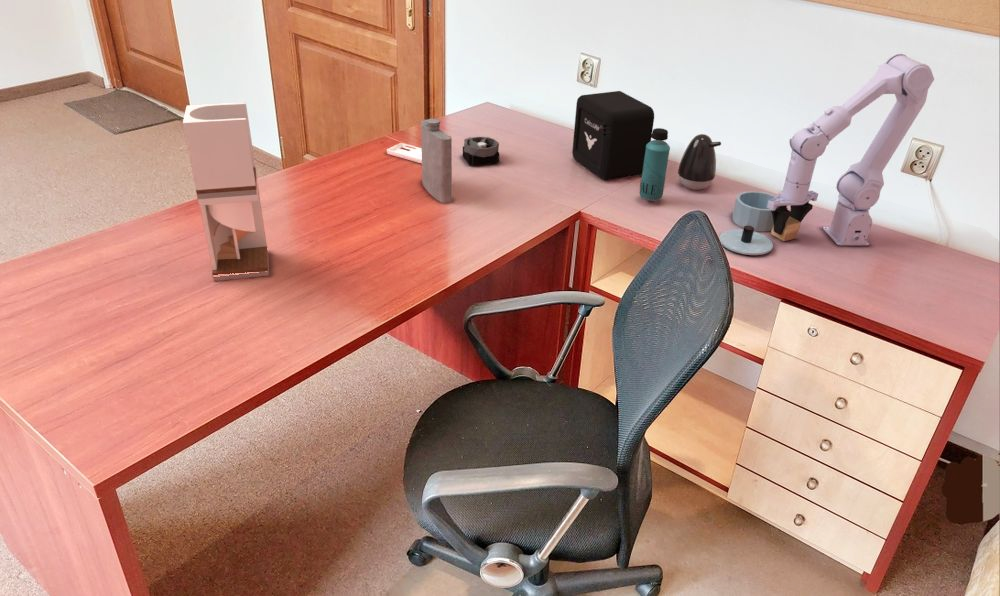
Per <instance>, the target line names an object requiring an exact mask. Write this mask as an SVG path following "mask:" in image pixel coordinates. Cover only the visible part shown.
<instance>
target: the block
mask: <svg viewBox="0 0 1000 596" xmlns="http://www.w3.org/2000/svg"><path fill="white" fill-rule="evenodd" d="M801 225H802V222H799V221H798V220H796V219H794V218H792V217H789V218H788V220H787V222H786V225H785V228H784V230H783V232H782V234H781V235H779V234H777V233H776V232H774V223H773V227H772V231H770V235H772V236H774V237H775V238H777V239H778V240H780V241H782V242H787V241H791V240H794V239H795V240H796V239H798V234H799V231H800V228H801Z"/></svg>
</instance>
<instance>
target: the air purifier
mask: <svg viewBox="0 0 1000 596" xmlns="http://www.w3.org/2000/svg"><path fill="white" fill-rule="evenodd" d="M574 119H575V120H574V130H573V139H572V149H571V150H572V151H571V153H572V157H573V160H574V161H576V162H577V163H578V164H580V165H581V166H582V167H584V168H585V169H587V170H588V171H590V172H591V173H592V174H594V175H596V177H598V178H600V179H601V180H603V181H605V182H608V181H613V180H619V179H626V178H631V177H637V176H642V172H643V164H644V163H643V161H644V158H645V152H646V145H647V144H648V143H649V142H650V141H652V137H651V136H652V132H653V129H654V123H655V111H654V109H653V108H652V106H649V105H647V104H646V103H644V102H642V101H640V100H639V99H637V98H634V97H633V96H631V95H629V94H627V93H625V92H623V91H621V90H615V91H614V90H613V91H605V92H598V93H589V94H581V95H580V96H579V97H578V98H577V100H576V106H575V117H574Z"/></svg>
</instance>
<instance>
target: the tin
mask: <svg viewBox="0 0 1000 596" xmlns="http://www.w3.org/2000/svg"><path fill="white" fill-rule="evenodd" d="M777 196H778V195H774V194H772V193H769V192H763V191H757V190H755V191H754V190H749V191H742V192H739V193H737V195H736V197H735V202H734V207H733V211H732V217H731V218H732V221H733V222H734V223H735V224H736V225H737V226H738V227H740V228H742V229H744V226H752V227H754V232H771V231H772V227H773V223H774V222H773V216H772V212H771V210H770V209H768V208H767V205H768V201H769V200H772V199H774V198H775V197H777Z"/></svg>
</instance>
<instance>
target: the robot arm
mask: <svg viewBox="0 0 1000 596" xmlns="http://www.w3.org/2000/svg"><path fill="white" fill-rule="evenodd" d="M934 81H935V76H934V75H933V71H932V69H931V67H930V66H929V65H928V64H926V63H921V62H920V61H917V60H915V59H914V58H912V57H910V56H907V55H906V54H903V53H896V54H893V55H891V56H890V57H889V58H888V59H886V61H885V62H883V63H881V64H880V65H879V66H878V68H877V70H876V72H875V74H874V75H873V76H872V77H871V78H870V79H869V80H867V82H866V83H864V85H862V86H861V87H859V89H858V90H857V91H856V92H855V93H854V94H853V95H852V96H850V97H849V98H848V99H847V100H846V101H845V102H844V103H843V104H841V105H833V106H831V107H828V108H827V109H825V110H824V113H823V114H822V115H821V116H819V117H818V118H817V119H816V120H815V121H813V122H812V123H810V124H808V125H807V127H806V128H801V129H798V130H797V131H796V132H794V134H793V135H792V137H791V138H790V139H789V142H788V143H789V146H790V148H791V153H790V159H789V163H788V166H787V171H786V175H785V179H784V183H783V184H784V185H783V187H782V190H780V191H779V192H778V195H776V196H777V197H775V198H774V199H772V200H769V201H768V205H767V208H768V209H770V210H771V212H772V216H773V222H774V232H776V233H777V234H779V235H781V234H782V232H783V230H784V228H785V225H786V222H787V220H788V218H789V217H792V218H794V219H796V220H798V221H799V222H801V223H802V221H803V220H804V218H805V217H806V216H807V215H808V213H810V212H811V211H812V210H813V207H814V205H813V204H812V203H810V201H812V202H816V201H817V200H818V197H819V192H817V191H814V190H810V187H811V183H812V179H813V175H814V171H815V167H816V163H817V159H818V158H819V157H821V156H823V154H824V153H825V151H826V149H827V146H828V145H830V143H831V141H833V139H835V138H836V137H837V136H839V135H840V134H841V133H842V132H843V131H845V130H846V129H847V128H848V127H850V126H851V124H852V123H851V122H852V118H853V117H854V116H855V115H857V114H858V113H859V112H861V111H862V110H864V109H865V108H866V107H868V106H869V105H871V104H872V103H873V102H875V101H876V100H877V99H879V98H880V97H882V96H883V95H894V96H895V98H896V101H895V104H894V105H893V106H892V108H891V110H890V112H889V113H888V115H887V117H886V119H885V120H884V122H883V123H882V125H881V127H880V128H879V130H878V131H877V133H876V135H875V137H874V138H873V140H872V141H871V143H870V144H869V147H868V148H867V150H866V151H865V153H864V154H863V156H862V158H861V160H860V161H858V162H855V163H853V164H851V165H850V166H849V168H848V169H847V170H846V171H845V172H844V173H842V175H840V176H839V178H838V179H837V181H836V183H835V184H836V187H835V188H836V191H837V192H838V196H837V197H838V199H837V203H836V206H835V210H834V213H833V217H832V220H831V223H830V226H822V230H823V231H824V232H825V233H826V234H827V235H828V236H829V237H830V238H831V240H832V241H833V242H834V243H835V244H836V245H838V246H870V243H869V242H868V238H869V235H870V231H871V228H872V226H873V218H872V217H871V215H870V210H871V208H872V207H873V206H875V205H876V204H877V203H878V202H879V200H880V197H881V191H882V189H883V187H884V185H885V181H884V174H883V172H884V171H885V168H886V167H887V165H888V164H889V162H890V160H891V158H892V157H893V156H894V154H895V153H896V150H897V149H898V148H899V146H900V144H901V143H902V141H903V140H904V138H905V136H906V134H907V133H908V132H909V130H910V128H911V127H912V125H913V124H914V122H915V120H916V119H917V117H918V115H919V114H920V113H921V111H922V109H923V108H924V106H925V103H926V101H927V97H928V93H929V89H930V87H931V85H932V84H933V82H934ZM788 206H790V209H789V210H788Z"/></svg>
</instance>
